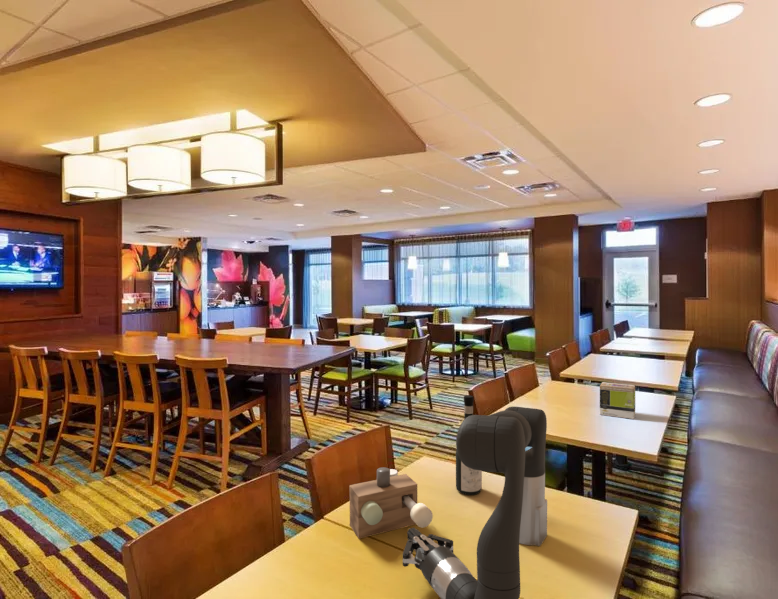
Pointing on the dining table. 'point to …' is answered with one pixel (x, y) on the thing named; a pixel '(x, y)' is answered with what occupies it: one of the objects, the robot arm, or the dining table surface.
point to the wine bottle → (465, 477)
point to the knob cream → (418, 512)
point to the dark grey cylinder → (383, 477)
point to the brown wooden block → (382, 505)
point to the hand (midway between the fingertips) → (410, 532)
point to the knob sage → (371, 512)
